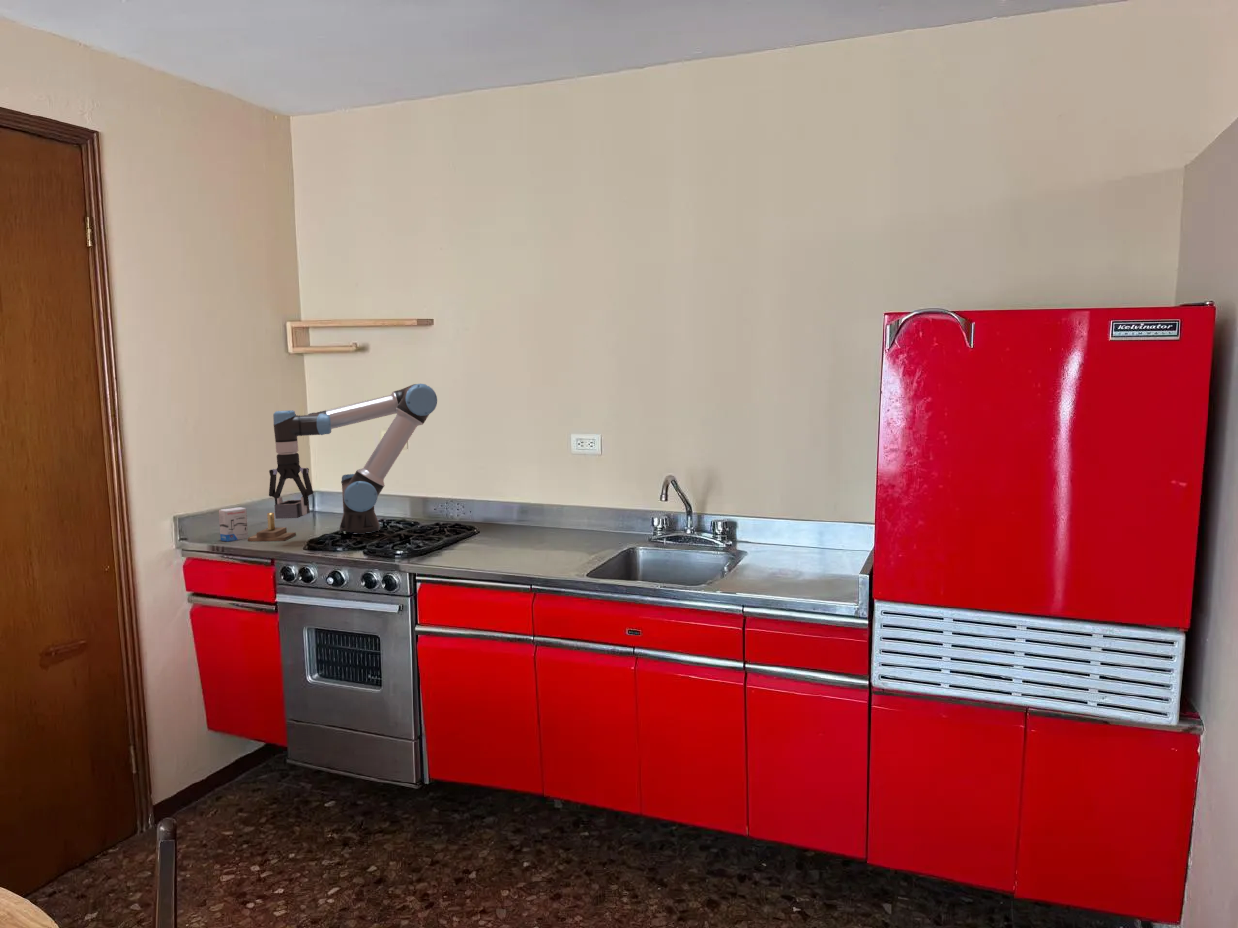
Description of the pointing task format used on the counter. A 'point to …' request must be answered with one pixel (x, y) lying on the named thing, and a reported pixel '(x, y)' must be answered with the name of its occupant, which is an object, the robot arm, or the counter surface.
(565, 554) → the counter surface
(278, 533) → the stand
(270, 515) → the post
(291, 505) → the collar
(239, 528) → the ink box
